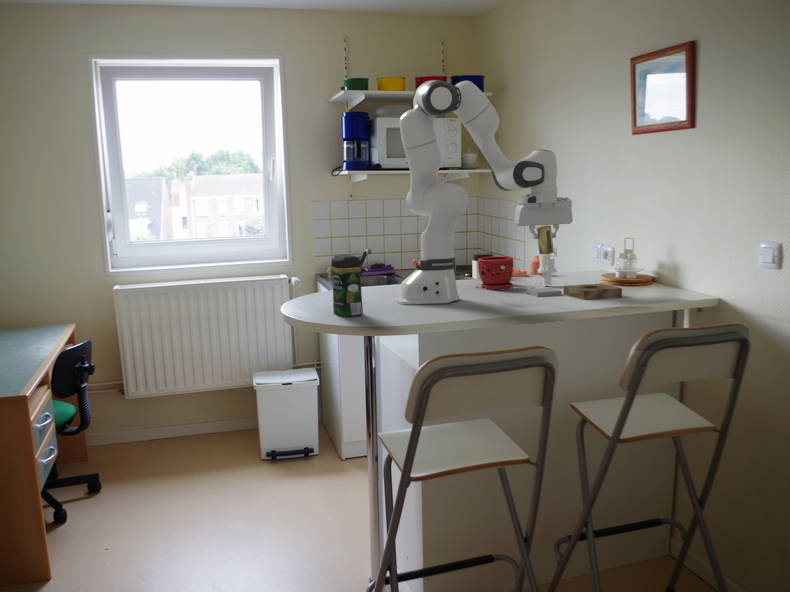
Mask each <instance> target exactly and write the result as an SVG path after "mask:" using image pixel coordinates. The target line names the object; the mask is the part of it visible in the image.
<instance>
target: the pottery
mask: <svg viewBox="0 0 790 592" xmlns="http://www.w3.org/2000/svg"><path fill="white" fill-rule="evenodd" d="M530 263H531V264H530V272H529V273H528V272H527V271H526V270H524V269H521V268H513V274H512V278H519V277H518V276H527V277H528V275H529V276H533V275H543V273H538V269H540V256H539V255H534V258H532V259H531V260H530ZM507 272H508V271H507ZM533 277H534V276H533Z"/></svg>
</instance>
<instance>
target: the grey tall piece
mask: <svg viewBox="0 0 790 592" xmlns="http://www.w3.org/2000/svg"><path fill="white" fill-rule="evenodd" d="M553 248H554V252H553V253H550V254H543V255H541V257H540V256H539V258H540V269H538V273H543V276H542V286H543V285H551V286H552V274H555V273H557V270H558V269H557V268H556V266H555V264H556V261H555V258H556V257H557V256H558V254H557V253H558V247H557V246H553ZM537 254H539V249H538V250H537ZM553 257H555V258H553Z"/></svg>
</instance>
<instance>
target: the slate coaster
mask: <svg viewBox="0 0 790 592" xmlns="http://www.w3.org/2000/svg"><path fill="white" fill-rule="evenodd" d="M562 292H563V291H562V290H559V289H556V288H552V287H543V288H542V287H541V288H540V287H539V288H526V294H527V295H531V296H534V297H537V298H538V297H539V298H541V297H551V296H552V297H554V296H555V297H556V296H562V294H563V293H562Z"/></svg>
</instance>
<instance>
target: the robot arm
mask: <svg viewBox="0 0 790 592" xmlns="http://www.w3.org/2000/svg"><path fill="white" fill-rule="evenodd" d="M450 113H454V114H455V115H456V116H457V118H458V119H459V120H460V122H461V124H462V125H463V126H464V128H465V129H466V130H467V132H468V133H469V135H470V137H471V138H472V140H473V142H474V144H475V146H476V148H477V149H478V151H479V152H480V154H481V156H482V157H483V159H484V161H485V162H486V163H487V166H488V167H489V169H490V171H491V175H492V178H493V181H494V184H495V185H496V186H497V188H498V189H500V190H501V191H505V192H510V191H511V192H512V191H514V190H525V189H530V193H529V194H525V195H522V196H520V197H518V198H517V206H516V209H515V214H514V223H515V225H516V226H517V227H528V230H529V232H530V233H531V238H532V239H533V240H538V234H537V232H536V231H535V229H536V226H547V225H549V226H552V228H553V230H551V231H552V239H555V238H557V232H558V231H559V228H560V225H569V224H572V223H573V210H572V207H573V201H572V200H571V199H570V198H569V197H567V196H564V197H558V186H557V177H558V164H557V157H556V155H555V153H554V152H553V151H551V150H549V149H534V150H533V151H532V152H531V153H530V154H529V155H527V156H525V157H522V158H520V159H519V160H514V161H512V160H509V159H508V158H507V157H506V156H505V154H504V153H503V151H502V150H501V147H500V146H499V145H498V143H497V142H496V138H495V134H496V132H497V130H498V129H499V125H500V116H499V114H498V112H497V110H496V109H495V106H493V104H492V103H491V101H490V100H489V99H488V97H487V96H486V95H485V93H484V92H483V91H482V90H481V89H480V88H479V87H478V86H477V85H476V84H474V82H472V81H470V80H463V81H460V82H458V83H456V84H455V85H454V84H452V83H449V82H447V81H443V80H437V79H429V80H427V81H424V82H421V83H420V84H419V85H418V86H416V88H415V91H414V92H413V96H412V101H411V106H410V109H409V110H407V111H405V112H404V113H403V114H402V115H401V116H400V118H399V123H398V124H399V131H400V137H401V142H402V143H401V144H402V146H403V150H404V154H405V157H406V161H407V164H408V168H409V173H410V174H409V175H410V186H409V187H410V188H409V191H408V193H407V195H406V198H405V199H406V201H405V203H406V207H407V209H408V211H409V212H411V213H412V214H414V215H417V216H418V217H419V216H420V217H424V218H426V217H428V223H427V225H426V228H425V230H424V231H422V233H421V236H420V258H419V259H412V261H411V265H412V266H415V270H414V271H413V272H412V273H411V274H410V275H409V276H407V277H406V278H405V279H403V280H402V282H401V283H400V286H399V292H398V294H399V295H396V296H394V297H393V298H392V300H393V301H394V302H395V303H396V302H397V303H396V304H400V305H423V304H424V305H425V304H426V305H428V304H430V305H431V304H449V303H451V302H453V301H454V302H455V301H458V300H460V296H459V293H458V289H457V288H458V287H457V283H456V282H457V281H456V276H455V274H456V271H457V269H456V268H457V265H456V257H455V255H454V254H455V253H454V252H455V251H454V250H455V247H454V243H455V242H454V241H455V232H456V231H455V230H456V228H457V224H458V221H459V219H460V217H461V215H462V214H463V213H464V212H465V210H466V209H467V207H468V204H469V203H468V202H469V198H468V193H467V191H466V190H465V188H464V187H463V186H461V185H458V184H455V183H450V182H443V183H440V182H439V169H440V168H441V167H442V164H443V157H442V154H441V151H440V146H439V142H438V139H437V136H436V132H435V130H434V129H435V128H434V127H435V126H434V122H435V119H436V117H441V116H442V117H443V116H446V115H448V114H450Z"/></svg>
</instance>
